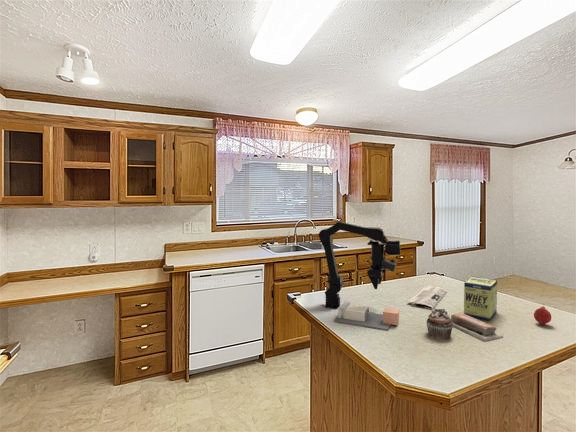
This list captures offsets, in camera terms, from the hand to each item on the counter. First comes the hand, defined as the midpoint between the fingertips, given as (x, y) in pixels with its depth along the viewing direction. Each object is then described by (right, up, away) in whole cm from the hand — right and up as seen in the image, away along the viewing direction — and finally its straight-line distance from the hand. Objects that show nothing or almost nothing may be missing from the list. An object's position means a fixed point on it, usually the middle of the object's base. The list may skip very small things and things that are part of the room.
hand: (377, 286), depth 152 cm
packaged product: (+33, -14, -22) cm, 42 cm away
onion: (+64, -12, -18) cm, 68 cm away
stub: (+2, -12, -15) cm, 19 cm away
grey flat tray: (-9, -13, -9) cm, 18 cm away
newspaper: (+32, -11, +19) cm, 39 cm away
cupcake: (+17, -14, -26) cm, 34 cm away
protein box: (+46, -12, -5) cm, 48 cm away
